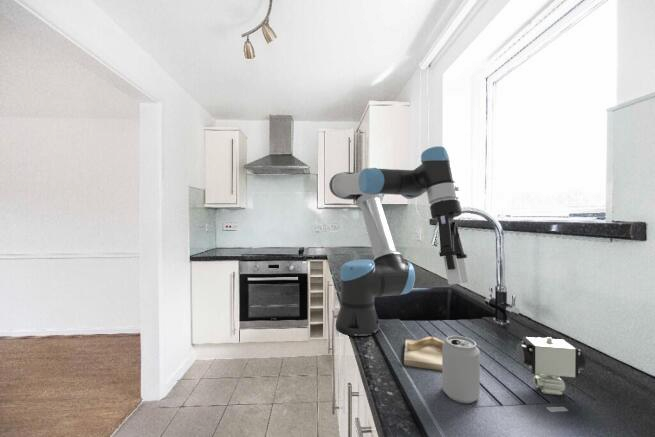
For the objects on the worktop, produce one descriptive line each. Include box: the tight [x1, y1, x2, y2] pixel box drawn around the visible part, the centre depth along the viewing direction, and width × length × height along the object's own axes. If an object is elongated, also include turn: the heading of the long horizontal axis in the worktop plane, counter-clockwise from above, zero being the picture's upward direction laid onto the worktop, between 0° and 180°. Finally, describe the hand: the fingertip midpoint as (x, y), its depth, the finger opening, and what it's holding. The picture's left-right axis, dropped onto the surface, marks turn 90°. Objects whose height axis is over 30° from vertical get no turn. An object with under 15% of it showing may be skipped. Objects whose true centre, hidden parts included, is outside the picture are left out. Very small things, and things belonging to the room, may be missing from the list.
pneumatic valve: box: [515, 336, 587, 396], centre depth 66 cm, size 6×12×12 cm, turn 78°
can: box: [441, 335, 481, 404], centre depth 64 cm, size 8×8×12 cm
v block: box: [403, 336, 445, 372], centre depth 80 cm, size 13×15×4 cm
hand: (459, 283), depth 73 cm, fingers open, 13 cm apart
